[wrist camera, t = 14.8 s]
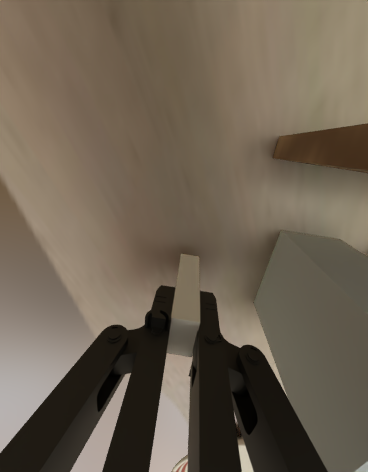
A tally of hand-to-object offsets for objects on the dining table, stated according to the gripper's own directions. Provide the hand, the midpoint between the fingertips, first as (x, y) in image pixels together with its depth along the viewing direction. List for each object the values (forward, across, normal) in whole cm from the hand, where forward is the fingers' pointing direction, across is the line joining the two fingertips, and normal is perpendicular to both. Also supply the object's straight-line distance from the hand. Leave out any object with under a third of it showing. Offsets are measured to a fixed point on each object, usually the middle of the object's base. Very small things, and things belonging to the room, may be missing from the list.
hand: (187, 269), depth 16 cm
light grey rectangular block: (+2, +10, 0) cm, 10 cm away
